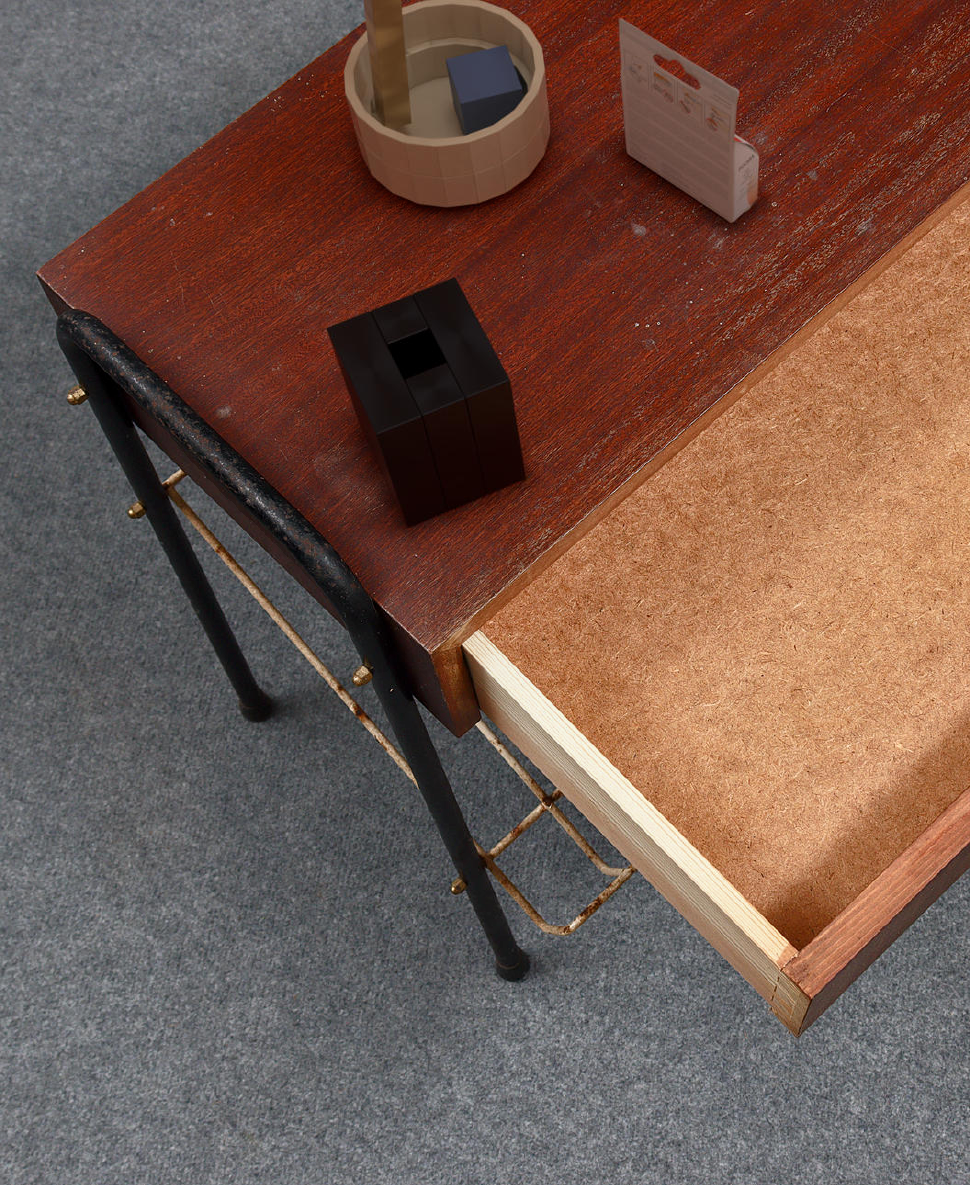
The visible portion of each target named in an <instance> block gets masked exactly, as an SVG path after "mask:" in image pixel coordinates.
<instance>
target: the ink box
mask: <svg viewBox="0 0 970 1185" xmlns="http://www.w3.org/2000/svg"><path fill="white" fill-rule="evenodd" d="M618 33H619V36H618V37H619V38H618V39H619V53H620V84H621V85H620V87H621V99H622V100H621V101H622V108H623V109H622V114H623V123H624V124H623V127H624V136H625V148H626V154H627V155H629V156H630V157H631V158H633V159H634V160H636V161H637V162H639V163H640V164H641V165H643V166H645V167H646V168H648V169H650V170H651V171H653V172H654V173H656V174H657V175H659V176H660V177H662V178H663V179H664V180H666V181H668V182H669V183H670V184H671V185H674V186H675V187H677V188H678V189H680V190H681V191H683V192H684V193H685V194H687V195H688V196H690V197H691V198H693V199H695V200H696V201H697V202H699V203H701V204H702V205H703V206H705V207H706V208H708V209H710V210H711V211H713V212H714V213H716V214H717V215H719V216H720V217H722V218H723V219H724V220H726V221H727V222H729V223H730V224H733V223H735V221H736V220H738V219H739V217H740V216H742V215H743V214H745V213H746V212H747V211H748V210H749V209H750V208H751V207H752V206H753V205H754V204H755V202H756V201H757V200H758V189H759V168H760V167H759V165H760V157H759V153H758V152H757V150H756V147H755V146H754V145H752V144H751V143H750V142H748V141H746V140H745V139H743V138H742V137H740V136H739V135H737V134H736V122H737V109H738V102H739V97H740V90H739V89H738V88H736V87H735V86H732V85H731V84H729V83H727V82H726V81H725V80H723V79H722V78H720V77H717V76H715V74H713V73H711V72H709V71H707V70H706V69H705V68H703V67H701V66H699V65H698V64H696V63H695V62H693V61H691V60H690V59H688V58H686V57H685V56H684V55H681V54H680V53H679V52H676V51H675V50H674V49H671V48H669V47H668V46H667V45H665V44H664V43H662V42H660V41H659V40H658V39H655V38H654V37H653V36H651V35H649V34H647V33H646V32H644V31H643V30H641V29H640V28H639V27H637V26H634V25H633V24H632V23H631V22H628V21H627V20H625V19H624V18H621V17H620V18H618ZM655 55H658V56H660V57H662V58H663V59H665V60H666V61H668V62H671V61H677V62H678V63H679V64H680V65H681V66H682V69H683V70H684V72H685V73H686V74H687V75H690V76H691V77H693V78H695V79H696V80H697V81H698V83H699V88H698V89H696V88H694V87H692V86H691V85H689V84H688V83H686V82H685V81H683V80H682V79H680V78H678V77H677V76H676V75H674V74H672V73H670V72H669V71H668V70H666V69H665V68H662V67H661V66H660V65H659V64H658V63H657V62H656V61H655V60H656V59H655Z"/></svg>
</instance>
